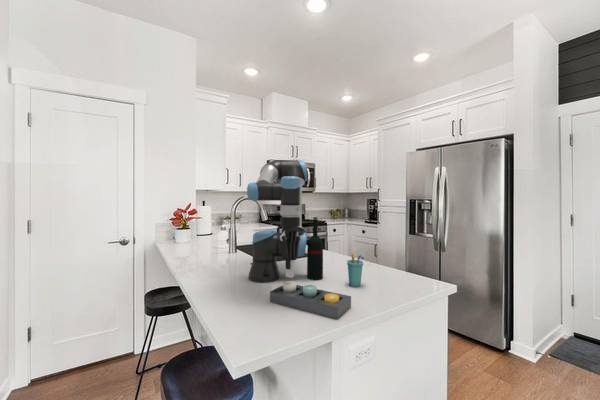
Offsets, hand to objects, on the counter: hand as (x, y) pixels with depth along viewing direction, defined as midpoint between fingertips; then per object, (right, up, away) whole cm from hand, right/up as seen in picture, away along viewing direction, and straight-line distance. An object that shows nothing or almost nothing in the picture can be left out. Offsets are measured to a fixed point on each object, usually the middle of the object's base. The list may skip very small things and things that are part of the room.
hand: (289, 276), depth 108 cm
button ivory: (0, -6, 0) cm, 6 cm away
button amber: (+15, -8, -9) cm, 19 cm away
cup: (+29, -9, +18) cm, 35 cm away
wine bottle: (+11, -9, +30) cm, 33 cm away
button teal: (+8, -6, -4) cm, 11 cm away
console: (+8, -9, -4) cm, 13 cm away
